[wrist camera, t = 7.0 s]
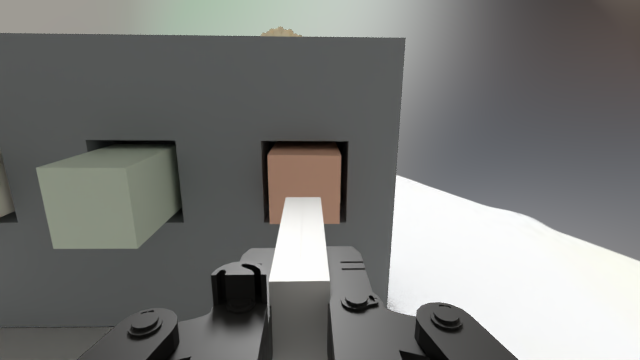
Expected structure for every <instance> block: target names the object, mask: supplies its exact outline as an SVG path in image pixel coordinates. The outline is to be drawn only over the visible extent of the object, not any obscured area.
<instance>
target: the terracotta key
mask: <svg viewBox="0 0 640 360" xmlns="http://www.w3.org/2000/svg"><path fill="white" fill-rule="evenodd" d="M267 158H268V188H269V218H270V224H280V223H281V218H282V213H283V208H284V203H285V198H286V197H321V205H322V214H323V223H324V224H340V184H341V154H340V151H339V149H338V147H337V144H336V142H335V141H276V143H275V144H274V146H273V147H272V149H271V150H270V152H269V154H268V155H267Z"/></svg>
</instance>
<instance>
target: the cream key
mask: <svg viewBox="0 0 640 360" xmlns="http://www.w3.org/2000/svg"><path fill="white" fill-rule="evenodd" d="M14 211H15V208H14V204H13V200H12V196H11V192H10V188H9V183H8V179H7V175H6V171H5V167H4V163H3V159H2V155H1V151H0V217H2V216H5V215H7V214H9V213H12V212H14Z"/></svg>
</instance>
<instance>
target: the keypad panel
mask: <svg viewBox="0 0 640 360" xmlns="http://www.w3.org/2000/svg"><path fill="white" fill-rule="evenodd" d="M404 51H405V38H369V37H368V38H367V37H365V38H364V37H284V36H198V35H194V36H193V35H113V34H111V35H110V34H26V33H24V34H22V33H0V151H1V155H2V159H3V163H4V167H5V171H6V175H7V179H8V183H9V188H10V192H11V196H12V200H13V204H14V208H15V211H14V212H12V213H9V214H7V215H5V216H2V217H0V327H115V326H116V325H118V324H119V323H120V322H121V321H123V320H124V319H126V318H127V317H129V316H130V315H132V314H135V313H137V312H140V311H142V310H146V309H152V308H165V309H169V310H172V311H173V312H174V313H175V314H176V315H177V320H178V322H181V321H186V320H190V319H195V318H198V317H202V316H204V315H207V314H209V313H210V312H211V309H212V307H213V295H212V284H211V274H212V273H213V272H214V271H215V270H216V269H218V268H219V267H221V266H223V265H226V264H229V263H232V262H240V260H241V257H242V255H243V254H244V253H246V252H247V251H248V250H249V249H251V248H276V243H277V238H278V233H279V228H280V224H270V218H269V188H268V158H267V155H268V154H269V152H270V150H271V149H272V147H273V146H274V144H275V143H276V141H335V142H336V144H337V147H338V149H339V151H340V154H341V184H340V224H324V232H325V241H326V246H353V247H354V248H355V249H356V250H357V251H359V252H360V253H361V256H362V260H363V263H364V266H365V270H366V272H367V276H368V279H369V282H370V285H371V289H372V292H373V293H375V294H376V295H377V296H379V298H380V299H381V301H382V302H383V305H384V307H385V308H386V309H387V298H388V283H389V269H390V254H391V240H392V226H393V211H394V197H395V182H396V166H397V153H398V139H399V124H400V109H401V96H402V80H403V66H404ZM113 144H173V145H176V152H177V161H178V171H179V180H180V190H181V199H182V207H181V208H180V209H179V210H178V211H177V212H176V213H175V214H174V215H173V216H172V217H171V218H170V219H169V220H168V221H167V222H165V223H164V224H163V225H162V226H161V227H160V228H159V229H158V230H157V231H156V232H155V233H154V234H153V235H152V236H151V237H150V238H148V239H147V240H146V241H145V242H144V243H143V244H142V245H141V246H140V247H139V248H138V249H53V244H52V240H51V235H50V231H49V226H48V222H47V217H46V212H45V208H44V203H43V199H42V194H41V189H40V185H39V180H38V176H37V171H36V168H37V167H40V166H44V165H47V164H50V163H53V162H57V161H60V160H63V159H67V158H70V157H73V156H77V155H80V154H83V153H87V152H90V151H93V150H97V149H100V148H103V147H107V146H110V145H113Z"/></svg>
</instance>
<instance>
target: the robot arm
mask: <svg viewBox="0 0 640 360" xmlns="http://www.w3.org/2000/svg"><path fill="white" fill-rule="evenodd" d="M211 284H212V295H213V307H212V309H211V312H210V313H209V314H207V315H204V316H202V317H198V318H195V319H190V320H186V321H181V322H178V320H177V315H176V314H175V313H174V312H173V311H172V310H169V309H165V308H152V309H146V310H142V311H140V312H137V313H135V314H132V315H130V316H129V317H127V318H126V319H124V320H123V321H121V322H120V323H119V324H118V325H116V326H115V327H114V328H113V329H112V330H111V331H109V332H108V333H107V334H106V335H105V336H104V337H102V338H101V339H100V340H99V341H98V342H97V343H95V344H94V345H93V346H92V347H91V348H90V349H89V350H87V351H86V352H85V353H84V354H83V355H82V356H80V357H79V358H78V359H77V360H518V359H517V358H516V357H515V356H514V355H513V354H512V353H511V352H509V351H508V350H507V349H506V348H505V347H504V346H503V345H502V344H501V343H500V342H499V341H498V340H497V339H495V338H494V337H493V336H492V335H491V334H490V333H489V332H488V331H487V330H486V329H485V328H484V327H482V326H481V325H480V324H479V323H478V322H477V321H476V320H475V319H474V318H473V317H472V316H471V315H469V314H468V313H466V312H465V311H464V310H462V309H460V308H458V307H456V306H453V305H451V304H446V303H440V302H438V303H428V304H425V305H422V306H421V307H420V308H419V309H418V310H417V314H416V317H415V316H410V315H405V314H400V313H397V312H393V311H391V310H389V309H386V308H385V307H384V305H383V302H382V301H381V299H380V298H379V296H377V295H376V294H375V293H373V292H372V289H371V285H370V282H369V279H368V276H367V272H366V270H365V266H364V263H363V260H362V256H361V253H360V252H359V251H357V250H356V249H355V248H354V247H353V246H326V241H325V232H324V223H323V214H322V205H321V197H286V198H285V203H284V208H283V213H282V218H281V223H280V228H279V233H278V238H277V243H276V248H251V249H249V250H248V251H247V252H246V253H244V254H243V255H242V257H241V260H240V262H232V263H229V264H226V265H223V266H221V267H219V268H218V269H216V270H215V271H214V272H213V273H212V274H211Z"/></svg>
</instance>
